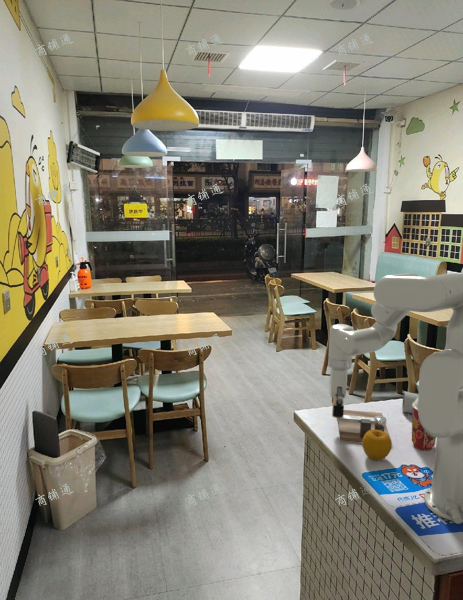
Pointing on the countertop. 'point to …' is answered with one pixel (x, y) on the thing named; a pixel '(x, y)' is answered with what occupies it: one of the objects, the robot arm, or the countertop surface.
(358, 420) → the lever
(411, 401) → the ceramic mug
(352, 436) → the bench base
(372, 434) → the apple
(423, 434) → the smoothie
